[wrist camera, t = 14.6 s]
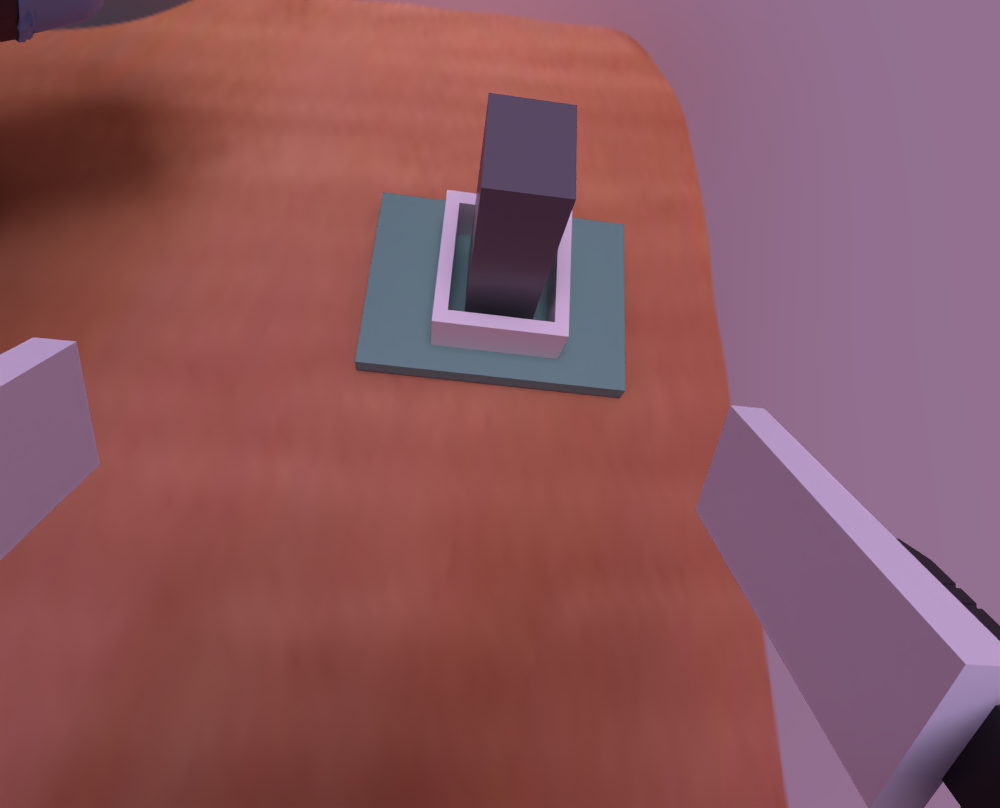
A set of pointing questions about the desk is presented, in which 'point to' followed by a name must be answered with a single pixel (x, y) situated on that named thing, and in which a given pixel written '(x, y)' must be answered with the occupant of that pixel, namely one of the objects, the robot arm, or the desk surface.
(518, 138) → the block
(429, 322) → the board
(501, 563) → the desk surface
